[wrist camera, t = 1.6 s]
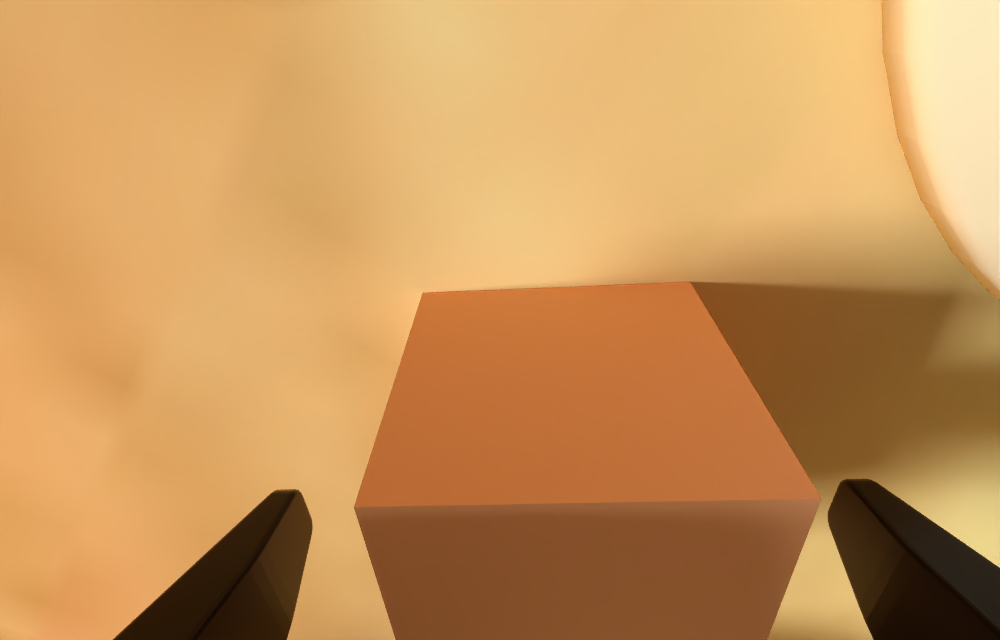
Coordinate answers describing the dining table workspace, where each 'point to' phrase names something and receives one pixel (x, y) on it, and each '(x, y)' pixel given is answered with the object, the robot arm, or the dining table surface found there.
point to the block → (579, 473)
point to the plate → (950, 118)
